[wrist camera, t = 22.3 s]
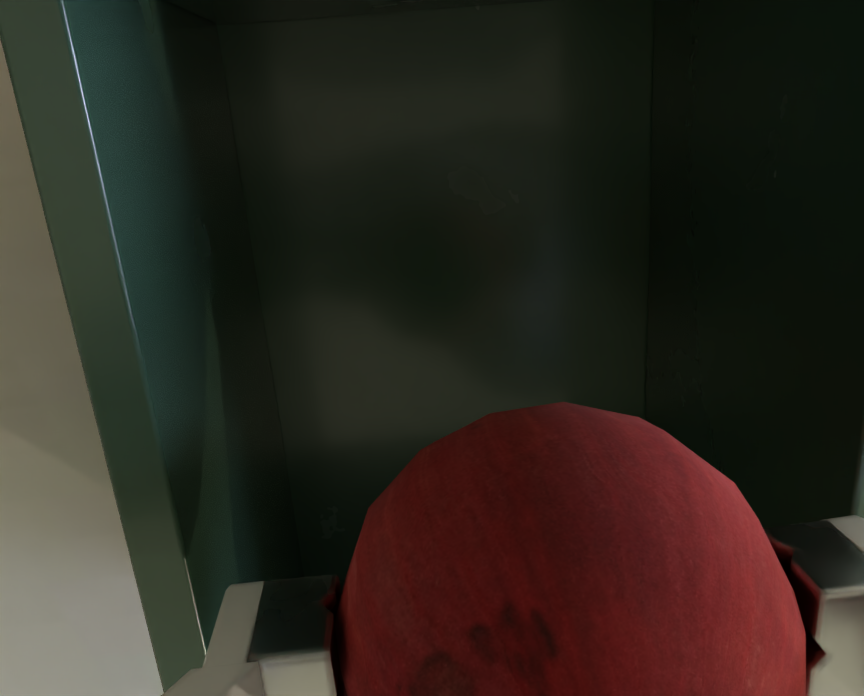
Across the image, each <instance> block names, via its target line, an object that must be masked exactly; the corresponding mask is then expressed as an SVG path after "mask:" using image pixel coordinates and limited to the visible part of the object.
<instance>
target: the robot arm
mask: <svg viewBox="0 0 864 696" xmlns="http://www.w3.org/2000/svg"><path fill="white" fill-rule="evenodd" d="M763 529H764V532H765V534H766V536H767V538H768V540H769V542H770V544H771V546H772V548H773V550H774V552H775V554H776V556H777V558H778V560H779V562H780V564H781V566H782V568H783V570H784V572H785V574H786V576H787V578H788V580H789V582H790V584H791V586H792V588H793V591H794V593H795V597H796V600H797V604H798V607H799V611H800V615H801V618H802V622H803V626H804V629H805V633H806V694H805V696H864V518H861V517H858V516H855V515H852V516H845V517H838V518H831V519H824V520H820V521H816V522H808V523H800V524H792V525H783V526H775V527H767V528H763ZM341 593H342V592H341V586H340V580H339V577H338V575H337V574H335V575H324V576H312V577H301V578H290V579H279V580H268V581H267V582H265V581H258V582H248V583H239V584H231V585H230V586H229V587H228V588H227V590H226V591H225V594H224V597H223V601H222V604H221V607H220V610H219V614H218V617H217V620H216V624H215V627H214V630H213V633H212V637H211V640H210V643H209V647H208V650H207V653H206V656H205V660H204V663H203V666H202V668H196V669H191V670H190V671H188V672H187V673H186V674H185V675H184V676H183V677H182V678H181V679H179V680H178V681H177V682H176V683H175V684H174V685H173V686H171V687H170V688H169V689H168V690H167V691H166V692H165V693H163V694H162V695H161V696H347V694H346V689H345V685H344V681H343V677H342V673H341V668H340V661H339V654H338V643H337V637H336V631H335V619H336V614H337V610H338V606H339V602H340V597H341Z"/></svg>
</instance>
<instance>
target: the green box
mask: <svg viewBox="0 0 864 696" xmlns="http://www.w3.org/2000/svg"><path fill="white" fill-rule="evenodd" d="M0 38H1V42H2V46H3V50H4V54H5V58H6V62H7V66H8V70H9V74H10V78H11V82H12V86H13V90H14V94H15V98H16V102H17V106H18V110H19V114H20V118H21V122H22V126H23V130H24V134H25V138H26V142H27V146H28V150H29V154H30V158H31V162H32V166H33V170H34V174H35V178H36V182H37V186H38V190H39V194H40V198H41V202H42V207H43V211H44V215H45V219H46V223H47V227H48V231H49V235H50V239H51V243H52V247H53V251H54V255H55V259H56V263H57V267H58V271H59V275H60V279H61V283H62V287H63V291H64V295H65V299H66V303H67V307H68V311H69V315H70V319H71V323H72V327H73V331H74V335H75V339H76V343H77V347H78V351H79V355H80V359H81V363H82V367H83V371H84V375H85V379H86V383H87V387H88V391H89V395H90V399H91V403H92V407H93V411H94V415H95V419H96V423H97V427H98V431H99V435H100V439H101V443H102V447H103V451H104V455H105V459H106V463H107V467H108V471H109V475H110V479H111V483H112V487H113V491H114V495H115V499H116V503H117V507H118V511H119V515H120V519H121V523H122V527H123V531H124V535H125V539H126V543H127V547H128V551H129V555H130V559H131V563H132V567H133V571H134V575H135V579H136V583H137V587H138V591H139V595H140V599H141V603H142V607H143V611H144V615H145V619H146V623H147V627H148V631H149V635H150V639H151V643H152V647H153V651H154V655H155V659H156V663H157V667H158V671H159V675H160V679H161V683H162V687H163V691H164V693H165V692H166V691H167V690H168V689H169V688H170V687H171V686H173V685H174V684H175V683H176V682H177V681H178V680H179V679H181V678H182V677H183V676H184V675H185V674H186V673H187V672H188V671H190V670H191V669H196V668H202V666H203V663H204V660H205V656H206V653H207V650H208V647H209V643H210V640H211V637H212V633H213V630H214V627H215V624H216V620H217V617H218V614H219V610H220V607H221V604H222V601H223V597H224V594H225V591H226V590H227V588H228V587H229V586H230V585H231V584H239V583H248V582H258V581H265V582H267V581H268V580H279V579H290V578H301V577H312V576H324V575H335V574H337V575H338V577H339V580H340V586H341V592H342V589H343V585H344V581H345V578H346V574H347V571H348V568H349V565H350V562H351V559H352V556H353V553H354V550H355V547H356V544H357V541H358V538H359V535H360V532H361V529H362V526H363V523H364V520H365V517H366V514H367V511H368V508H369V507H370V506H371V504H372V503H373V502H374V501H375V500H376V499H377V498H378V497H379V496H380V494H381V493H382V492H383V491H384V490H385V489H386V488H387V487H388V486H389V484H390V483H391V482H392V481H393V480H394V479H395V478H396V477H397V475H398V474H399V473H400V472H401V471H402V470H403V469H404V468H405V467H406V465H407V464H408V463H409V462H410V461H411V460H412V459H413V458H414V457H415V455H416V454H417V453H418V452H419V451H420V450H421V449H423V448H425V447H426V446H428V445H430V444H432V443H433V442H435V441H437V440H439V439H441V438H443V437H445V436H447V435H449V434H451V433H453V432H455V431H457V430H459V429H461V428H463V427H465V426H467V425H469V424H470V423H472V422H474V421H476V420H478V419H480V418H482V417H484V416H486V415H488V414H490V413H495V412H501V411H508V410H514V409H521V408H527V407H533V406H540V405H546V404H553V403H559V402H567V403H572V404H577V405H582V406H587V407H591V408H596V409H601V410H606V411H611V412H616V413H621V414H626V415H630V416H635V417H639V418H641V419H643V420H645V421H647V422H649V423H651V424H653V425H655V426H656V427H658V428H660V429H662V430H664V431H666V432H667V433H669V434H670V435H671V436H673V437H674V438H675V439H677V440H678V441H679V442H681V443H682V444H683V445H685V446H686V447H687V448H689V449H690V450H691V451H693V452H694V453H695V454H697V455H698V456H699V457H701V458H702V459H703V460H705V461H706V462H707V463H709V464H710V465H711V466H713V467H714V468H715V469H717V470H718V471H719V472H721V473H722V474H723V475H725V476H726V477H727V478H729V479H730V480H731V481H733V482H734V483H735V484H736V486H737V487H738V489H739V490H740V492H741V493H742V495H743V496H744V498H745V499H746V501H747V502H748V504H749V505H750V507H751V508H752V510H753V511H754V513H755V514H756V516H757V518H758V519H759V521H760V523H761V525H762V527H763V528H767V527H775V526H783V525H792V524H800V523H808V522H816V521H820V520H824V519H831V518H838V517H845V516H852V515H855V516H858V517H861V518H864V0H0Z"/></svg>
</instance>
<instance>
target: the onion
mask: <svg viewBox="0 0 864 696" xmlns="http://www.w3.org/2000/svg"><path fill="white" fill-rule="evenodd" d="M335 631H336V637H337V643H338V654H339V661H340V668H341V673H342V677H343V681H344V685H345V689H346V694H347V696H805V694H806V633H805V629H804V626H803V622H802V618H801V615H800V611H799V607H798V604H797V600H796V597H795V593H794V591H793V588H792V586H791V584H790V582H789V580H788V578H787V576H786V574H785V572H784V570H783V568H782V566H781V564H780V562H779V560H778V558H777V556H776V554H775V552H774V550H773V548H772V546H771V544H770V542H769V540H768V538H767V536H766V534H765V532H764V529H763V527H762V525H761V523H760V521H759V519H758V518H757V516H756V514H755V513H754V511H753V510H752V508H751V507H750V505H749V504H748V502H747V501H746V499H745V498H744V496H743V495H742V493H741V492H740V490H739V489H738V487H737V486H736V484H735V483H734V482H733V481H731V480H730V479H729V478H727V477H726V476H725V475H723V474H722V473H721V472H719V471H718V470H717V469H715V468H714V467H713V466H711V465H710V464H709V463H707V462H706V461H705V460H703V459H702V458H701V457H699V456H698V455H697V454H695V453H694V452H693V451H691V450H690V449H689V448H687V447H686V446H685V445H683V444H682V443H681V442H679V441H678V440H677V439H675V438H674V437H673V436H671V435H670V434H669V433H667V432H666V431H664V430H662V429H660V428H658V427H656V426H655V425H653V424H651V423H649V422H647V421H645V420H643V419H641V418H639V417H635V416H630V415H626V414H621V413H616V412H611V411H606V410H601V409H596V408H591V407H587V406H582V405H577V404H572V403H567V402H559V403H553V404H546V405H540V406H533V407H527V408H521V409H514V410H508V411H501V412H495V413H490V414H488V415H486V416H484V417H482V418H480V419H478V420H476V421H474V422H472V423H470V424H469V425H467V426H465V427H463V428H461V429H459V430H457V431H455V432H453V433H451V434H449V435H447V436H445V437H443V438H441V439H439V440H437V441H435V442H433V443H432V444H430V445H428V446H426V447H425V448H423V449H421V450H420V451H419V452H418V453H417V454H416V455H415V457H414V458H413V459H412V460H411V461H410V462H409V463H408V464H407V465H406V467H405V468H404V469H403V470H402V471H401V472H400V473H399V474H398V475H397V477H396V478H395V479H394V480H393V481H392V482H391V483H390V484H389V486H388V487H387V488H386V489H385V490H384V491H383V492H382V493H381V494H380V496H379V497H378V498H377V499H376V500H375V501H374V502H373V503H372V504H371V506H370V507H369V508H368V511H367V514H366V517H365V520H364V523H363V526H362V529H361V532H360V535H359V538H358V541H357V544H356V547H355V550H354V553H353V556H352V559H351V562H350V565H349V568H348V571H347V574H346V578H345V581H344V585H343V589H342V593H341V597H340V602H339V606H338V610H337V614H336V619H335Z"/></svg>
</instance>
